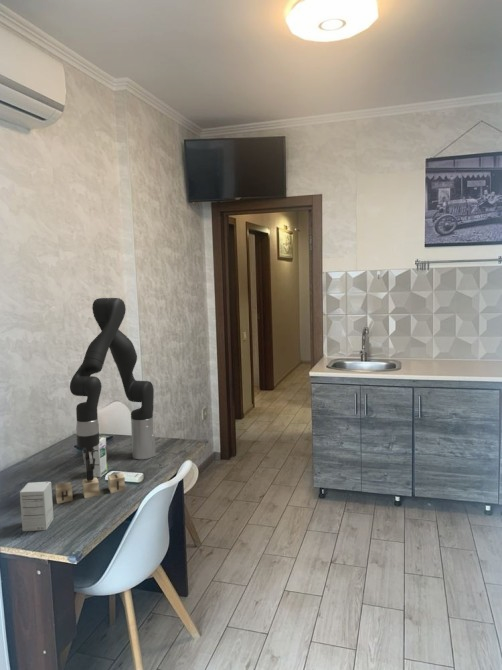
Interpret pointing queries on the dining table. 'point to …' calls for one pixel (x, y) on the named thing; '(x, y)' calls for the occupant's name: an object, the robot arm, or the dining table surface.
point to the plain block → (90, 487)
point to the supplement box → (36, 506)
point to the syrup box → (100, 458)
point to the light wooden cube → (63, 492)
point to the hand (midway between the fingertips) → (90, 479)
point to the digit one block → (116, 482)
